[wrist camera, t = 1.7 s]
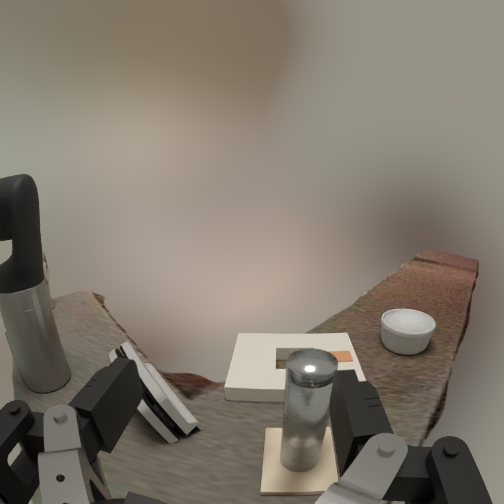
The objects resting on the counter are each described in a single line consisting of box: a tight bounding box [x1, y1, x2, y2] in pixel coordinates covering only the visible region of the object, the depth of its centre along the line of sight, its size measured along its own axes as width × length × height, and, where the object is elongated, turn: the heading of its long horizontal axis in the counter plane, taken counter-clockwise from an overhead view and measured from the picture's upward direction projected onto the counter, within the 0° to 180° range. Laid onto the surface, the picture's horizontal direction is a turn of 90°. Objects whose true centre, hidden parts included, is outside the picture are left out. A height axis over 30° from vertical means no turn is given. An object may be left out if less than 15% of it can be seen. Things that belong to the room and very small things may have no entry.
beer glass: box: [42, 252, 54, 309], centre depth 64 cm, size 7×7×15 cm
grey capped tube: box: [280, 348, 338, 472], centre depth 25 cm, size 4×4×14 cm
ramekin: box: [381, 309, 436, 355], centre depth 50 cm, size 11×11×5 cm
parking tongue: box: [261, 427, 338, 495], centre depth 27 cm, size 8×10×1 cm
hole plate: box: [225, 333, 366, 402], centre depth 45 cm, size 20×16×3 cm
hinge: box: [109, 341, 204, 444], centre depth 36 cm, size 17×5×10 cm, turn 38°
